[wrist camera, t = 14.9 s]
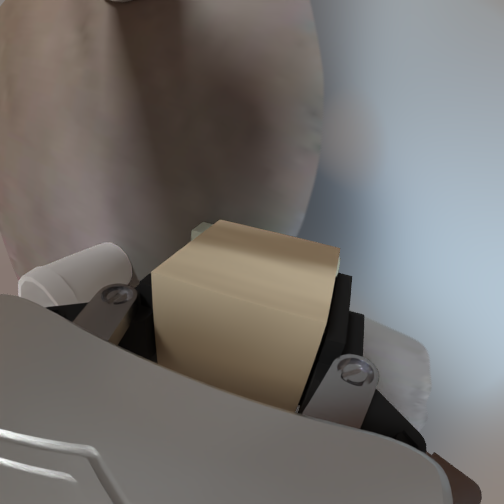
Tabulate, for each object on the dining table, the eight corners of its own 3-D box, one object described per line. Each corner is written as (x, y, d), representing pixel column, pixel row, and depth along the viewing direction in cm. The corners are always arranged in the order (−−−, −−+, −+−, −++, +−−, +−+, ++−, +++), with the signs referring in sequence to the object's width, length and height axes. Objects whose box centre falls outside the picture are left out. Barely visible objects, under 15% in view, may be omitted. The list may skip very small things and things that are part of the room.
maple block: (219, 219, 12) (151, 271, 8) (340, 248, 11) (327, 322, 7) (212, 316, 14) (160, 385, 10) (312, 345, 13) (287, 430, 9)
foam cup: (154, 271, 37) (82, 332, 26) (124, 307, 41) (63, 363, 30) (104, 216, 36) (23, 258, 25) (81, 258, 41) (14, 302, 29)
